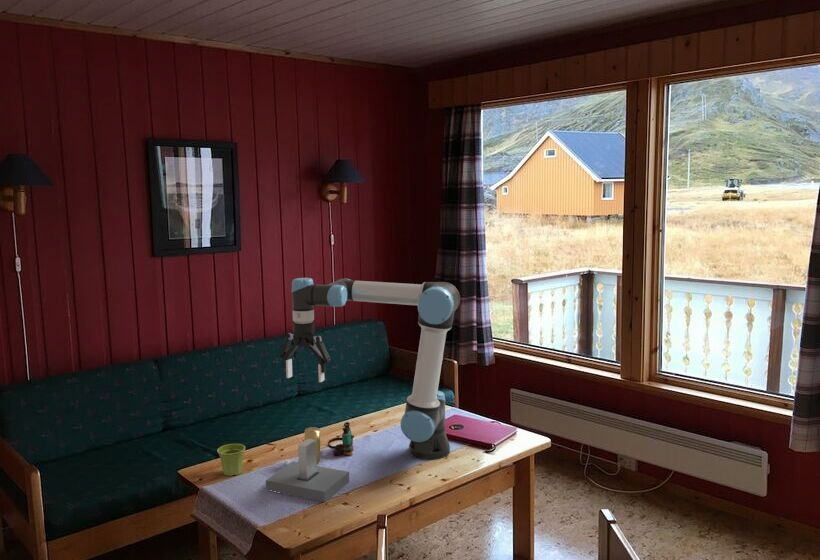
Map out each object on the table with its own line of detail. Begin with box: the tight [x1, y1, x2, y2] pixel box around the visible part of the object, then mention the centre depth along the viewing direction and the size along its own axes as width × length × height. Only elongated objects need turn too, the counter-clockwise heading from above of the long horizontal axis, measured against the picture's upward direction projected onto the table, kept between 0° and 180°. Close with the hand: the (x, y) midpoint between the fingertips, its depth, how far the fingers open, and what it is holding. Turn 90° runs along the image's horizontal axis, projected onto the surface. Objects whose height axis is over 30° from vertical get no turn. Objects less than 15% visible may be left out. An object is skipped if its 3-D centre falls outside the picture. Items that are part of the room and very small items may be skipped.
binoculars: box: [327, 421, 355, 456], centre depth 252 cm, size 9×11×10 cm
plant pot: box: [216, 443, 246, 477], centre depth 235 cm, size 9×9×9 cm
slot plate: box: [265, 461, 350, 503], centre depth 224 cm, size 22×16×4 cm
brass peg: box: [304, 426, 321, 465], centre depth 243 cm, size 6×6×12 cm
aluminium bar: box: [297, 439, 318, 482], centre depth 223 cm, size 3×6×15 cm, turn 156°
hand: (305, 379), depth 246 cm, fingers open, 13 cm apart
